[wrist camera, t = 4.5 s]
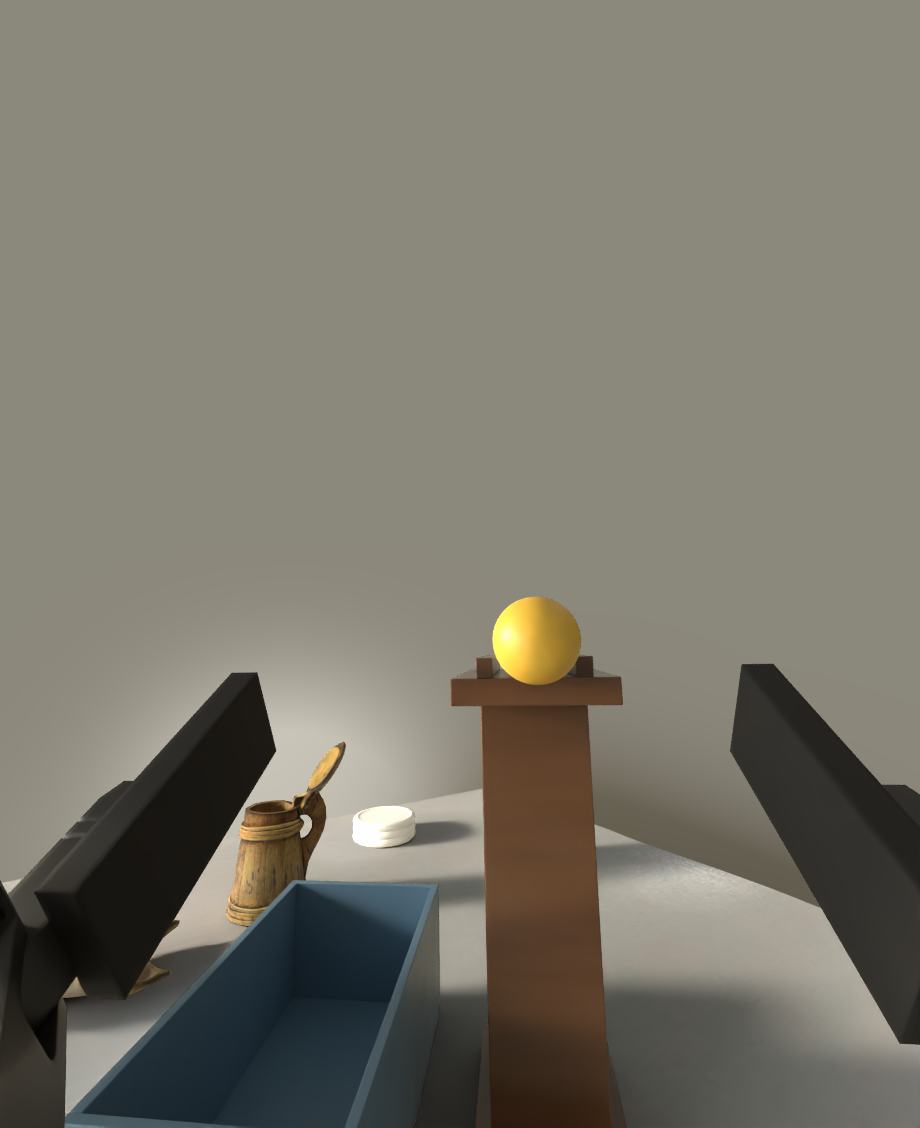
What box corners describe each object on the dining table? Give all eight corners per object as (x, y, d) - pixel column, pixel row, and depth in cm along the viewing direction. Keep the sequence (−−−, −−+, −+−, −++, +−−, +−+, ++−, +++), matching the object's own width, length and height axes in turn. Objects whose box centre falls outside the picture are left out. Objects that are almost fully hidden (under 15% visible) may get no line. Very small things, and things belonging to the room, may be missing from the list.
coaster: (419, 827, 88) (419, 805, 88) (409, 849, 78) (409, 824, 79) (362, 826, 89) (362, 804, 89) (344, 848, 79) (345, 824, 79)
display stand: (660, 1258, 25) (619, 655, 30) (458, 1238, 26) (449, 658, 31) (612, 1054, 38) (589, 653, 43) (477, 1046, 39) (469, 655, 44)
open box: (347, 1443, 20) (350, 1148, 21) (32, 1397, 21) (57, 1123, 23) (440, 1008, 43) (438, 884, 45) (289, 1000, 45) (293, 879, 46)
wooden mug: (352, 904, 61) (355, 746, 64) (228, 934, 55) (237, 758, 58) (335, 876, 69) (337, 736, 72) (224, 899, 63) (232, 746, 66)
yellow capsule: (589, 687, 22) (584, 590, 23) (491, 688, 23) (489, 593, 23) (555, 669, 42) (552, 617, 43) (503, 669, 42) (502, 618, 43)
